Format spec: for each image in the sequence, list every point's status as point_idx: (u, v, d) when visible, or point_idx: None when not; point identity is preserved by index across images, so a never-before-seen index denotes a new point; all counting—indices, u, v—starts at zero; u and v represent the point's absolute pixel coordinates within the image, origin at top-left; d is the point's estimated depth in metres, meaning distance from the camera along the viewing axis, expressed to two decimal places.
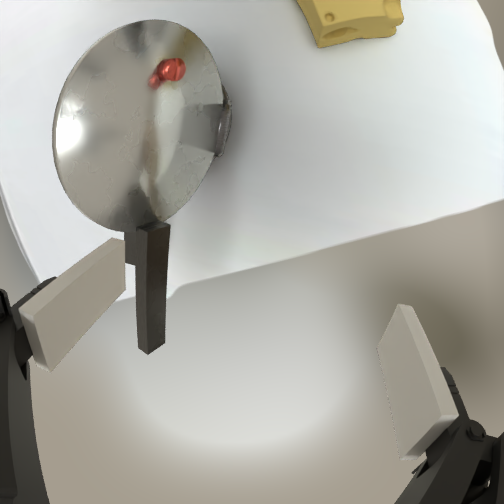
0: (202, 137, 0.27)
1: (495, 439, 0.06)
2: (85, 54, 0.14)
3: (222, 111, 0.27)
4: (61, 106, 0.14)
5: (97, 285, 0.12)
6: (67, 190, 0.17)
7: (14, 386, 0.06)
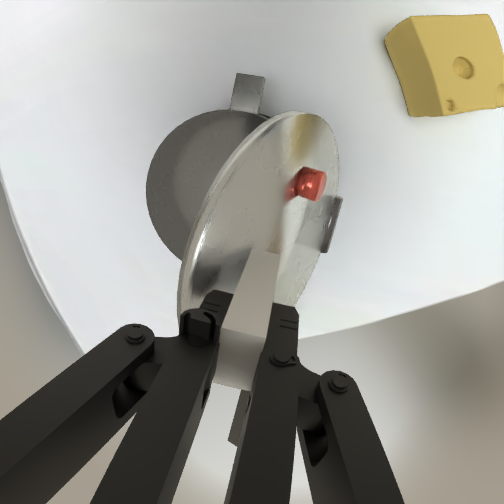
0: (315, 241, 0.25)
1: (315, 385, 0.09)
2: (222, 182, 0.12)
3: (334, 207, 0.25)
4: (195, 270, 0.12)
5: None
6: None
7: (191, 420, 0.07)
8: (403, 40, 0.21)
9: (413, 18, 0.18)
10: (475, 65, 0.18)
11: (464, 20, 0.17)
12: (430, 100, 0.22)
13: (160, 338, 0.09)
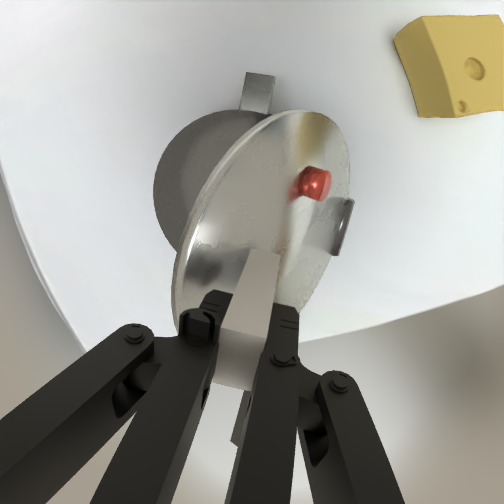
0: (325, 244, 0.24)
1: (316, 385, 0.09)
2: (216, 178, 0.12)
3: (345, 209, 0.25)
4: (187, 265, 0.12)
5: None
6: None
7: (190, 420, 0.07)
8: (414, 40, 0.20)
9: (424, 18, 0.17)
10: (486, 66, 0.18)
11: (475, 21, 0.16)
12: (441, 101, 0.22)
13: (160, 338, 0.09)
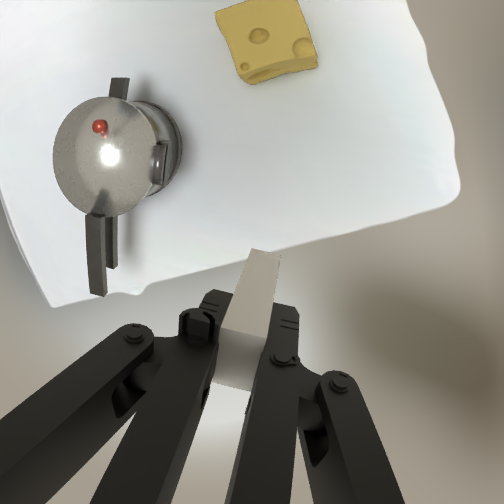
0: (136, 168, 0.38)
1: (316, 385, 0.09)
2: None
3: (154, 151, 0.37)
4: (54, 145, 0.36)
5: None
6: (58, 181, 0.39)
7: (190, 420, 0.07)
8: (220, 30, 0.32)
9: (216, 13, 0.29)
10: (269, 30, 0.29)
11: None
12: None
13: (159, 338, 0.09)
